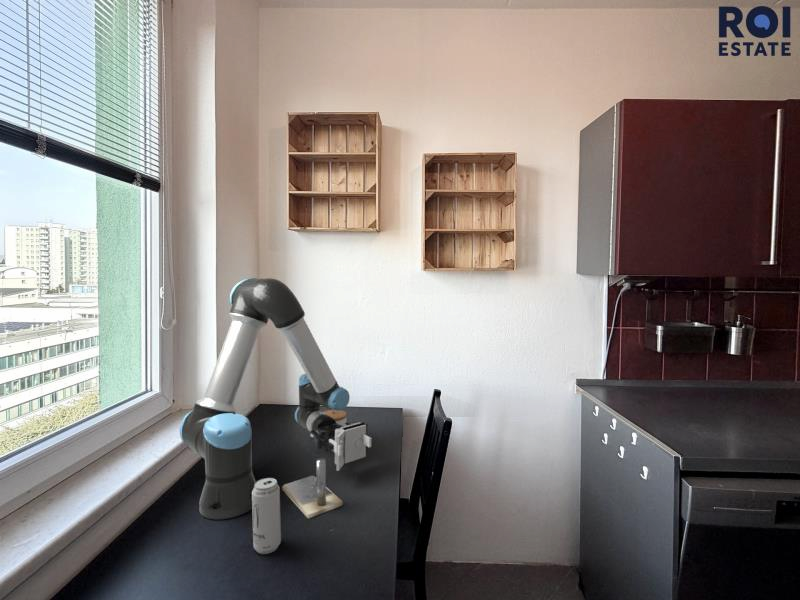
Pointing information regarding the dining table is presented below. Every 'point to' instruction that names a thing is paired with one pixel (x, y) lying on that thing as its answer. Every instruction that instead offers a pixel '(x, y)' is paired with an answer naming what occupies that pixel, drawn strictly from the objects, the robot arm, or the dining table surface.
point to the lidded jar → (337, 416)
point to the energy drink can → (266, 516)
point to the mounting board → (312, 507)
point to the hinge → (350, 443)
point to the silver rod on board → (311, 486)
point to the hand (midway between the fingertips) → (355, 446)
